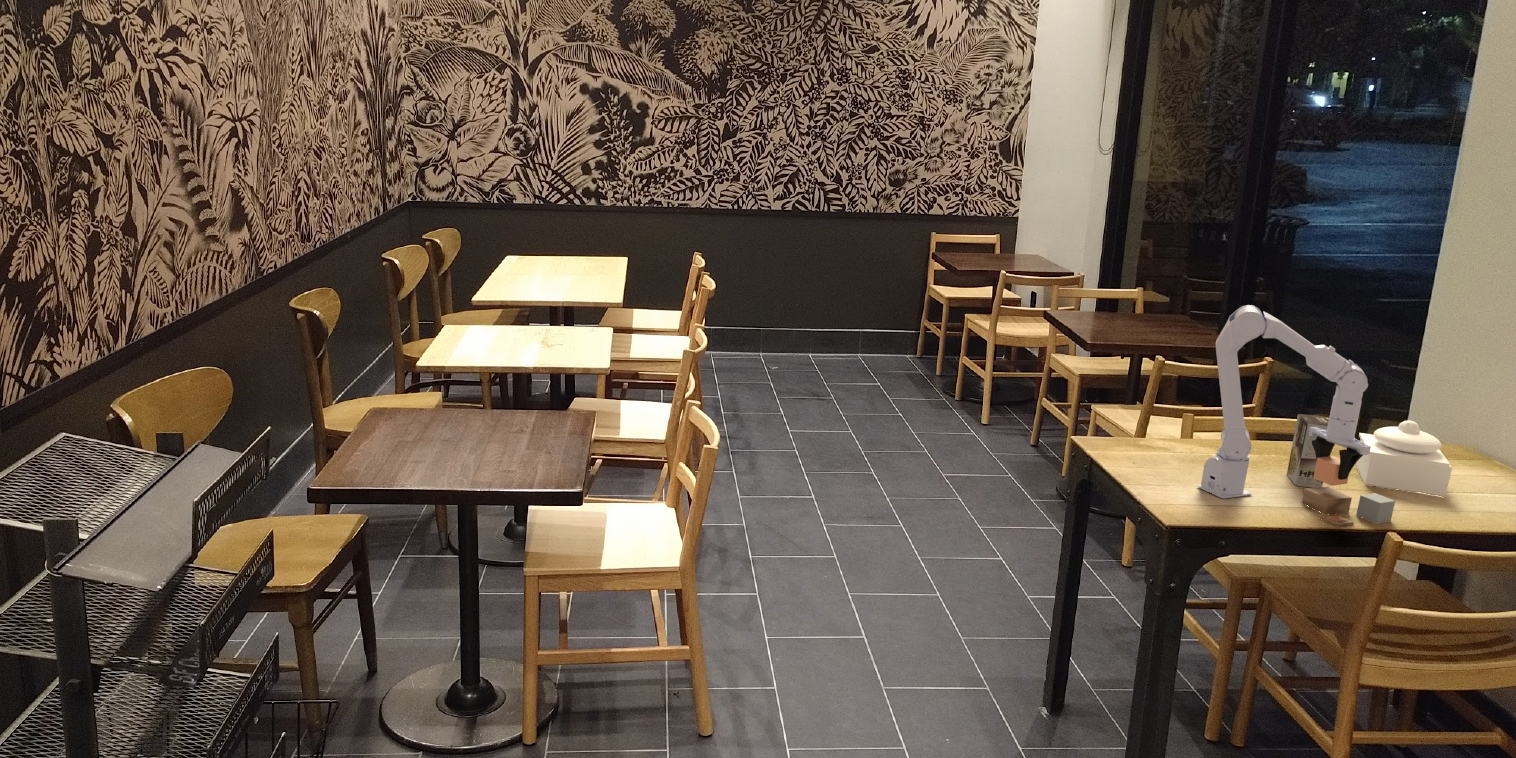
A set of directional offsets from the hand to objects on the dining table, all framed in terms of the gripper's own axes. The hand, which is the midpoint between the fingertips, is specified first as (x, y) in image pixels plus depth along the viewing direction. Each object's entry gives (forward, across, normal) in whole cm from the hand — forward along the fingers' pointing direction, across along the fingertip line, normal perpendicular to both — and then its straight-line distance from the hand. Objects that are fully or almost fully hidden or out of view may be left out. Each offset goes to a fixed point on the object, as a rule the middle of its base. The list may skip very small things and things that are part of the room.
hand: (1331, 474), depth 256 cm
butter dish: (+9, +9, -37) cm, 39 cm away
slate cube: (+8, -8, -6) cm, 13 cm away
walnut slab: (+8, 0, 0) cm, 8 cm away
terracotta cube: (+2, 0, 0) cm, 2 cm away
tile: (+8, -7, +5) cm, 12 cm away
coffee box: (+8, +15, -11) cm, 20 cm away
